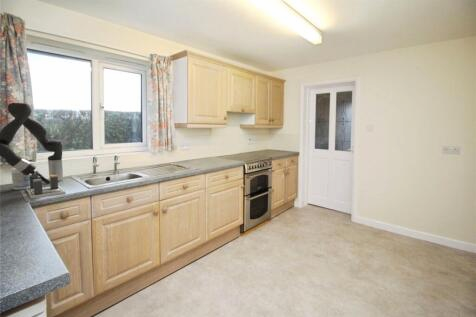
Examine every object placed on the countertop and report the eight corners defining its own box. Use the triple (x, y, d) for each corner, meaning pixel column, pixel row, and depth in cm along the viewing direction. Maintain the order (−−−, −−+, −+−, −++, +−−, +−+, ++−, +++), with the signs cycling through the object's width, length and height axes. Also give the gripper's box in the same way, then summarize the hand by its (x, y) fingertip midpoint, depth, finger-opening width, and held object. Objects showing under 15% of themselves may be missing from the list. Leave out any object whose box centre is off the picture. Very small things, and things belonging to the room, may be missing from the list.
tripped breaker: (50, 187, 178) (49, 175, 177) (57, 186, 181) (56, 174, 180) (51, 188, 176) (50, 176, 175) (58, 187, 178) (57, 175, 177)
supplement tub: (28, 189, 181) (26, 168, 179) (10, 190, 177) (9, 169, 175) (32, 186, 190) (30, 166, 188) (15, 187, 185) (13, 167, 184)
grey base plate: (26, 189, 179) (25, 174, 178) (57, 186, 191) (56, 171, 190) (31, 198, 159) (29, 181, 158) (65, 193, 171) (64, 177, 170)
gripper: (30, 163, 163) (55, 180, 173) (28, 161, 172) (51, 177, 182) (20, 172, 160) (46, 188, 170) (18, 170, 169) (43, 185, 179)
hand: (48, 182), depth 176 cm, fingers closed
